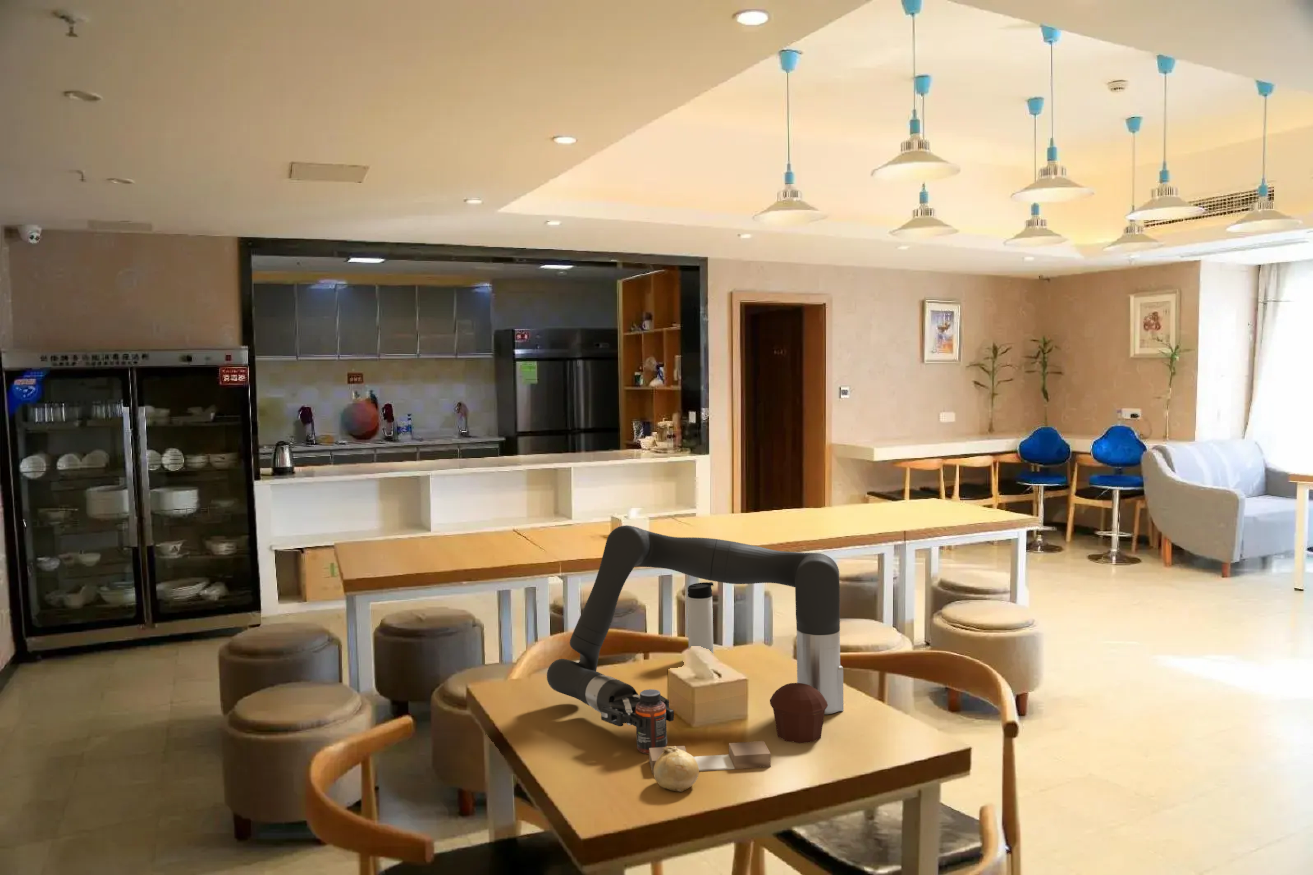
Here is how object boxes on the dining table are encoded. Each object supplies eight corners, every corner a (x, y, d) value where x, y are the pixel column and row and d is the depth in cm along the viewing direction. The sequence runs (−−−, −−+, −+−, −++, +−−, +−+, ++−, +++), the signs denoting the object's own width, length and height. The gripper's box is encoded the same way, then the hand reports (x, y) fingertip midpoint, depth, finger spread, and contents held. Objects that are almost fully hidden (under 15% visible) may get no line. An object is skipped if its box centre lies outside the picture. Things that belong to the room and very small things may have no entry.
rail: (763, 753, 179) (763, 741, 179) (770, 766, 173) (770, 753, 173) (649, 761, 177) (649, 748, 177) (652, 774, 171) (652, 760, 171)
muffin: (839, 734, 188) (838, 685, 188) (806, 750, 181) (806, 699, 180) (791, 720, 197) (790, 673, 196) (758, 735, 189) (757, 686, 188)
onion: (694, 775, 171) (694, 737, 170) (702, 794, 163) (702, 754, 162) (651, 778, 170) (650, 740, 169) (657, 798, 162) (656, 758, 161)
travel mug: (715, 664, 236) (714, 585, 235) (689, 664, 236) (687, 586, 235) (714, 656, 242) (712, 580, 241) (688, 657, 242) (687, 580, 241)
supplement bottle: (671, 745, 185) (670, 688, 184) (661, 756, 179) (660, 698, 178) (642, 742, 187) (641, 686, 186) (632, 753, 181) (630, 696, 180)
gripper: (580, 686, 190) (627, 709, 176) (639, 672, 198) (687, 693, 184) (581, 722, 190) (628, 748, 176) (640, 707, 198) (688, 730, 185)
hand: (658, 720), depth 180 cm, fingers closed on supplement bottle, 6 cm apart
